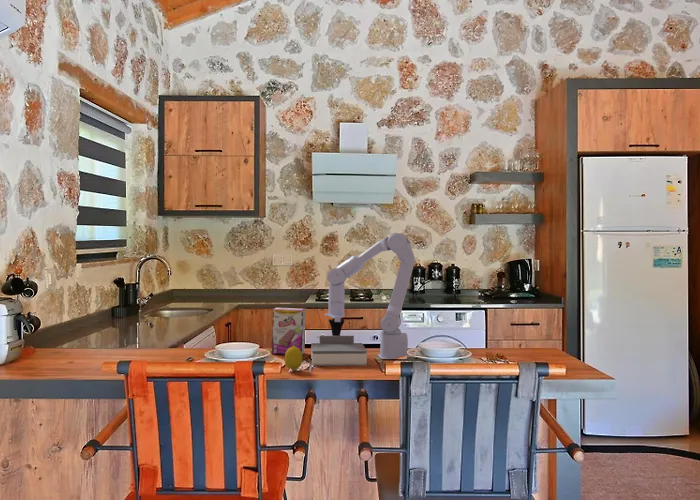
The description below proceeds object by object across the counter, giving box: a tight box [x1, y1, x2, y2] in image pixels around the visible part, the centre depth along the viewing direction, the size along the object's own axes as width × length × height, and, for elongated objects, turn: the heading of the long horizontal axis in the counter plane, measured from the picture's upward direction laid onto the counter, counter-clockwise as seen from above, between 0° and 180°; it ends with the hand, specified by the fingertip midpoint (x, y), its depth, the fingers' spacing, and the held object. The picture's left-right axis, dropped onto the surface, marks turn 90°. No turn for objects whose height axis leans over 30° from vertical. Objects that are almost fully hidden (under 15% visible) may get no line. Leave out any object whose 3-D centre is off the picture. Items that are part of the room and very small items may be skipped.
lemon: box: [284, 346, 303, 372], centre depth 177 cm, size 6×6×8 cm
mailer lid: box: [310, 335, 368, 354], centre depth 192 cm, size 18×14×3 cm
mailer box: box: [310, 346, 368, 367], centre depth 192 cm, size 18×14×4 cm
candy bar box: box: [271, 307, 306, 356], centre depth 203 cm, size 11×5×16 cm, turn 84°
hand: (336, 339), depth 203 cm, fingers closed
